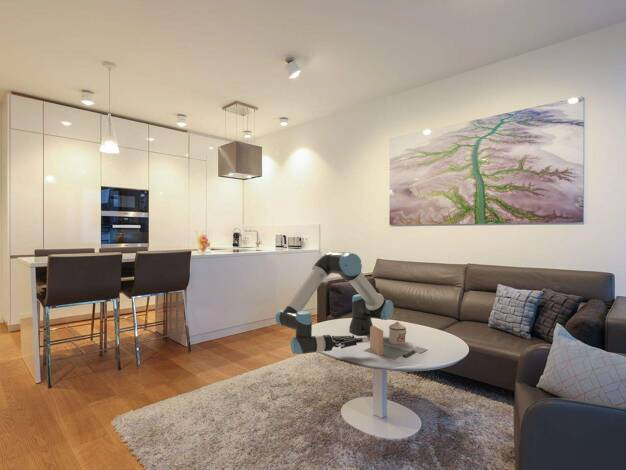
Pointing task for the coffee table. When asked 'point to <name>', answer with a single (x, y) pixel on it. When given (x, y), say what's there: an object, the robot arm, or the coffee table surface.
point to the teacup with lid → (397, 333)
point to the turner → (416, 349)
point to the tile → (376, 340)
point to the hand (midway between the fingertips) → (366, 338)
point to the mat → (390, 352)
